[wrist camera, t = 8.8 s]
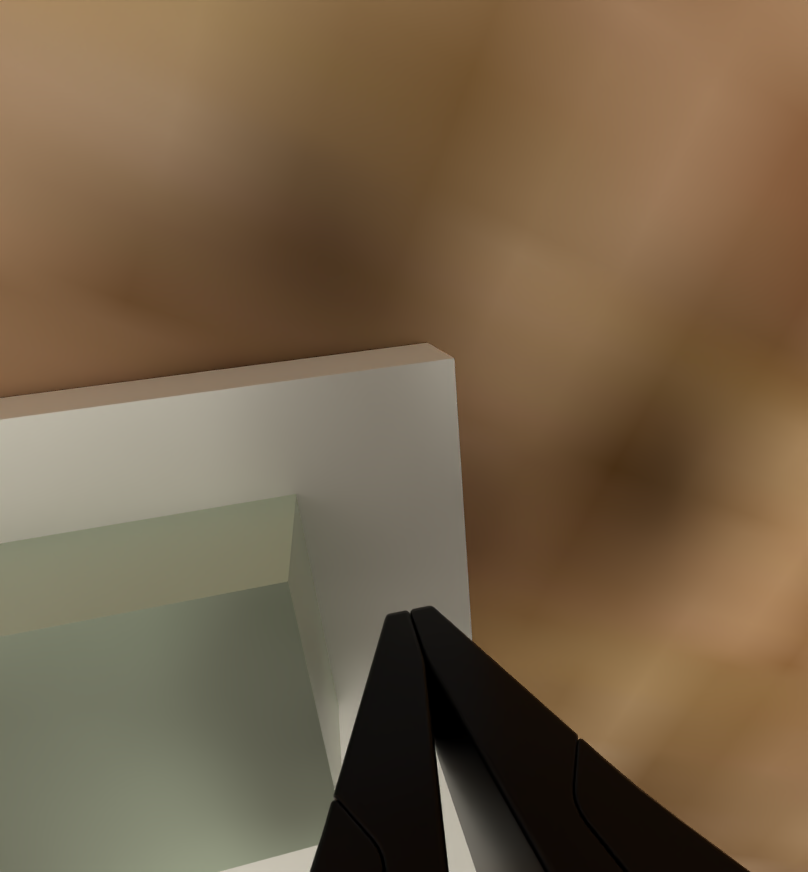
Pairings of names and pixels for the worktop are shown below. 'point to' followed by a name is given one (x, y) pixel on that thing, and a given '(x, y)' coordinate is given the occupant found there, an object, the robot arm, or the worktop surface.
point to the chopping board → (273, 487)
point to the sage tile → (164, 695)
